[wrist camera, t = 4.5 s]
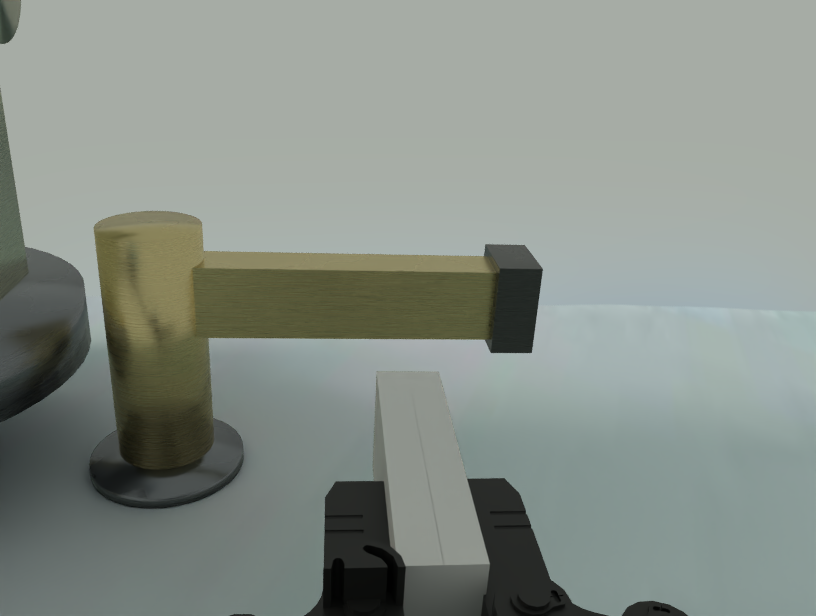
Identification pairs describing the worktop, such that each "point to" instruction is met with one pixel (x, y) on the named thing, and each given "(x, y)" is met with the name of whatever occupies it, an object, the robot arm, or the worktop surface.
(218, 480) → the surveying level
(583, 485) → the worktop surface
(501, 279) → the lever
